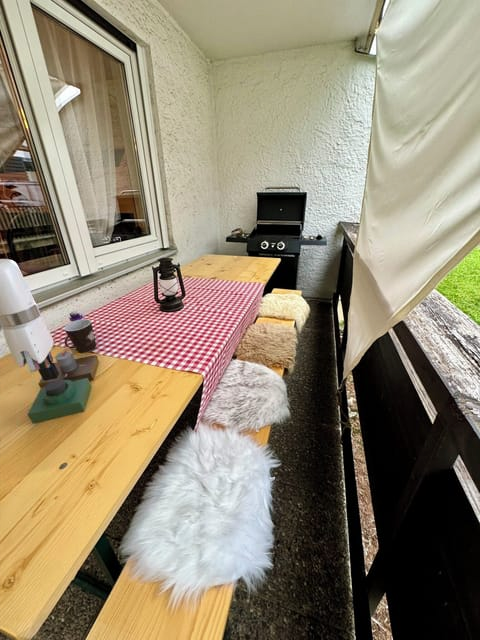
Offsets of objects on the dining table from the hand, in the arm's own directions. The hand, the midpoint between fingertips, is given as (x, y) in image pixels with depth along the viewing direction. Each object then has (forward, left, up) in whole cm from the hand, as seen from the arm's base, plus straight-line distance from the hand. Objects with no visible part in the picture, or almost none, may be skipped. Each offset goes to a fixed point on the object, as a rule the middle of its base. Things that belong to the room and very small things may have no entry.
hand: (51, 377), depth 67 cm
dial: (-1, +13, -6) cm, 15 cm away
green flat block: (0, 0, -10) cm, 10 cm away
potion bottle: (-2, +36, -10) cm, 37 cm away
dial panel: (-1, +13, -10) cm, 16 cm away
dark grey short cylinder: (0, 0, -4) cm, 4 cm away
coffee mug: (-1, +28, -10) cm, 30 cm away
